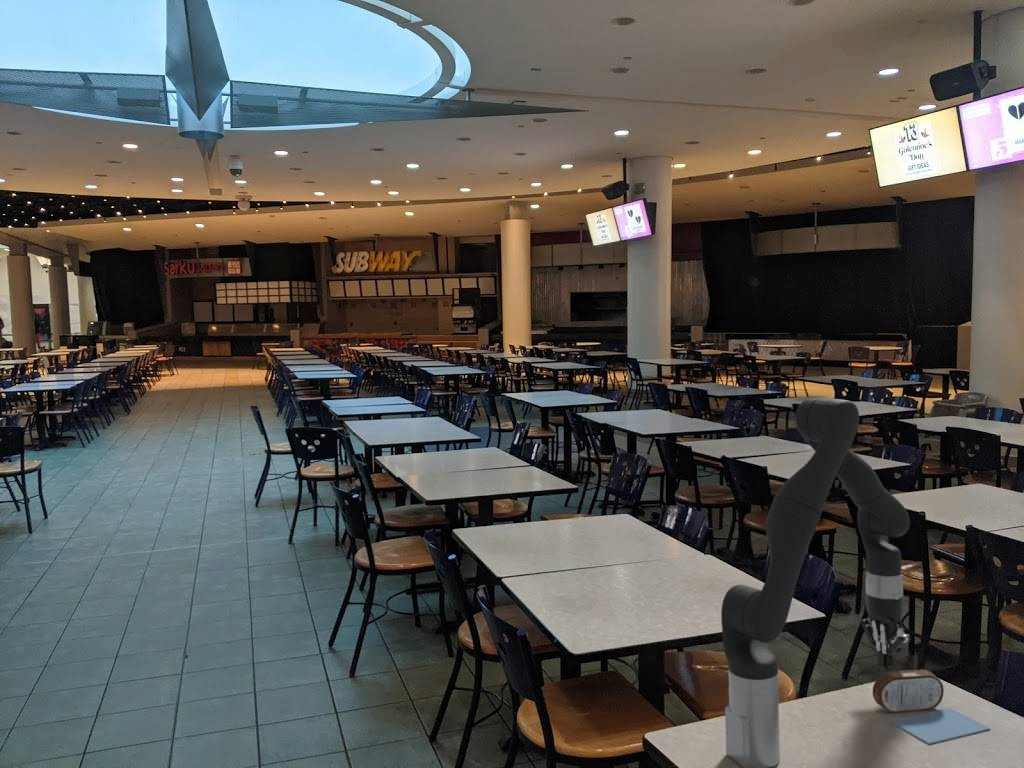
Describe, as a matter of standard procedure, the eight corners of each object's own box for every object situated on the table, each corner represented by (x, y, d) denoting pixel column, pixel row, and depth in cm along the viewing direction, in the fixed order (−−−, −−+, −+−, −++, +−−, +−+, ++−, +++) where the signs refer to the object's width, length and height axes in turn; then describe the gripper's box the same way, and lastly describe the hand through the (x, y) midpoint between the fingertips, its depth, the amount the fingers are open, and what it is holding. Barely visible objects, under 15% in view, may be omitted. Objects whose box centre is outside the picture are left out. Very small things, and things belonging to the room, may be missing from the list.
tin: (937, 704, 174) (936, 666, 174) (946, 710, 171) (946, 672, 170) (871, 709, 173) (871, 671, 172) (879, 716, 170) (879, 677, 169)
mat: (929, 744, 157) (929, 743, 157) (890, 722, 166) (890, 721, 166) (990, 729, 162) (990, 728, 162) (949, 709, 171) (949, 707, 171)
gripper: (849, 586, 182) (850, 660, 183) (893, 603, 169) (895, 682, 170) (875, 581, 184) (877, 655, 185) (921, 598, 172) (922, 676, 173)
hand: (885, 668), depth 178 cm, fingers closed
